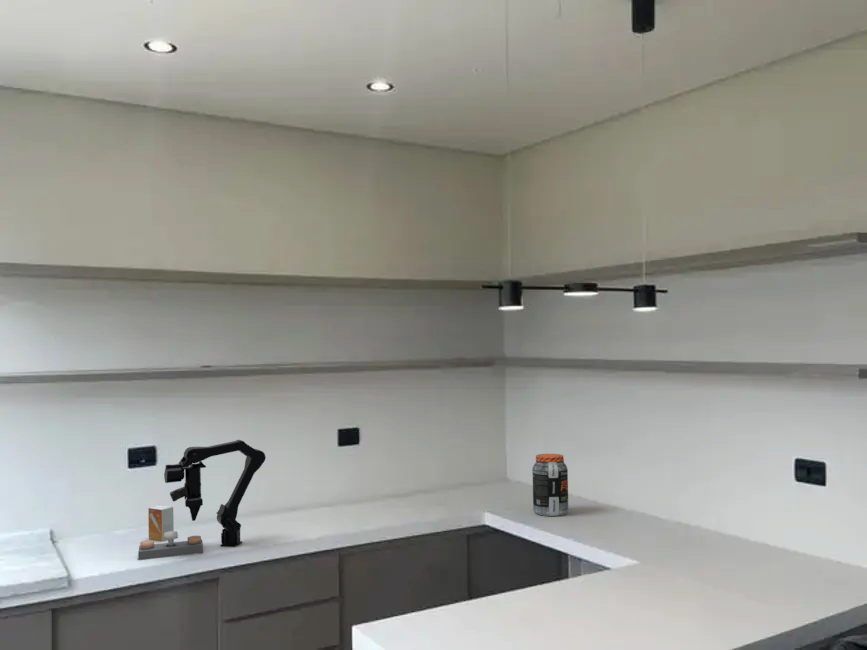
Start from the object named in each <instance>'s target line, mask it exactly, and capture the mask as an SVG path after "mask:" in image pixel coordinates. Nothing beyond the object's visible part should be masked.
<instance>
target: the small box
mask: <svg viewBox="0 0 867 650" xmlns="http://www.w3.org/2000/svg"><path fill="white" fill-rule="evenodd" d="M147 511H148V540H153V541H158V542H164V541H166V540H165V539H164V533H165V532H169V531H175V528H174V526H175V525H174V506H169V505H163V504H162V505H161V504H159V505H154V506H150V507H148V510H147Z"/></svg>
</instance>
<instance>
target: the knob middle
mask: <svg viewBox="0 0 867 650" xmlns="http://www.w3.org/2000/svg"><path fill="white" fill-rule="evenodd" d="M178 534H179V532H178V531H176V530H174V531H169V532H165V533H164V539H165V541H168V542H167V543H168V547H170V546H174V542H175V540H176V539H178V538H179V535H178Z"/></svg>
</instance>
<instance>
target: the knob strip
mask: <svg viewBox="0 0 867 650" xmlns="http://www.w3.org/2000/svg"><path fill="white" fill-rule="evenodd" d="M195 553H197V554H203V553H204V543H203V539H202V538H201V542H200V543H197V544H188V541H187V540H183V541H174V546H170V547H168V542H164V543H162V542H161V543H154V547H153V548H150V549H141V548H140V545H139V547H138V553H137V554H138V555H137V556H138V557H137V559H138V561H142V560H149V559H158V558H160V559H161V558H167V557H177V556H187V555H194V554H195Z"/></svg>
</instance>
